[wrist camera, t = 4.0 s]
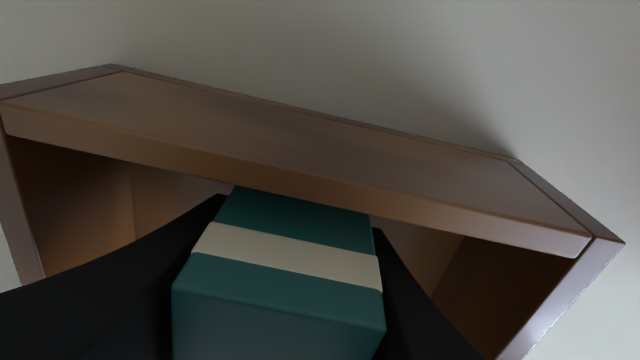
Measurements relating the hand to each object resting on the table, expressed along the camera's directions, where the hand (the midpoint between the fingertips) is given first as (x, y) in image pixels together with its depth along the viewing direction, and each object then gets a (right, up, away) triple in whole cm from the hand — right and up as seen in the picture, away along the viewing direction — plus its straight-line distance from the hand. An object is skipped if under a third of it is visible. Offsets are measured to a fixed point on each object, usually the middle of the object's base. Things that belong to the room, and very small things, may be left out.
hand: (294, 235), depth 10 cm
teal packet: (0, +1, +1) cm, 1 cm away
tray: (-1, -3, +4) cm, 5 cm away
